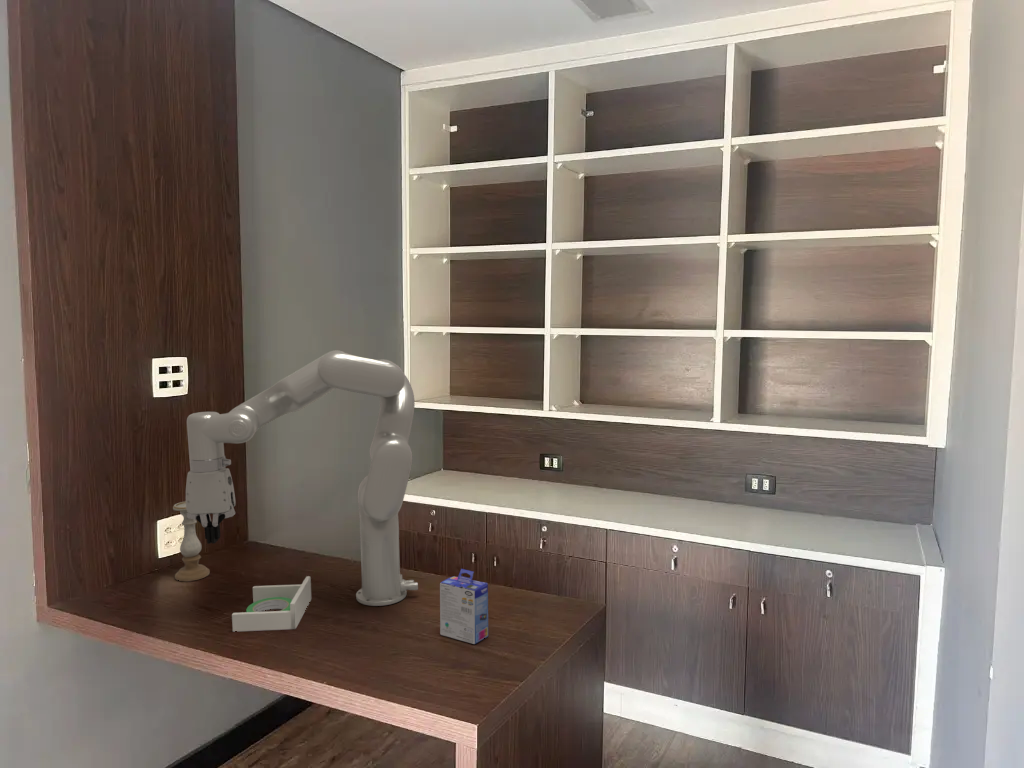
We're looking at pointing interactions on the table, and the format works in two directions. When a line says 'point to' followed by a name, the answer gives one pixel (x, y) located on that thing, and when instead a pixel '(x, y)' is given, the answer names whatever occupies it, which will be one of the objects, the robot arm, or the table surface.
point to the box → (275, 618)
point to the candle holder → (190, 549)
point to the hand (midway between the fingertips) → (213, 541)
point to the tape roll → (270, 604)
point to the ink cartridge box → (464, 608)
